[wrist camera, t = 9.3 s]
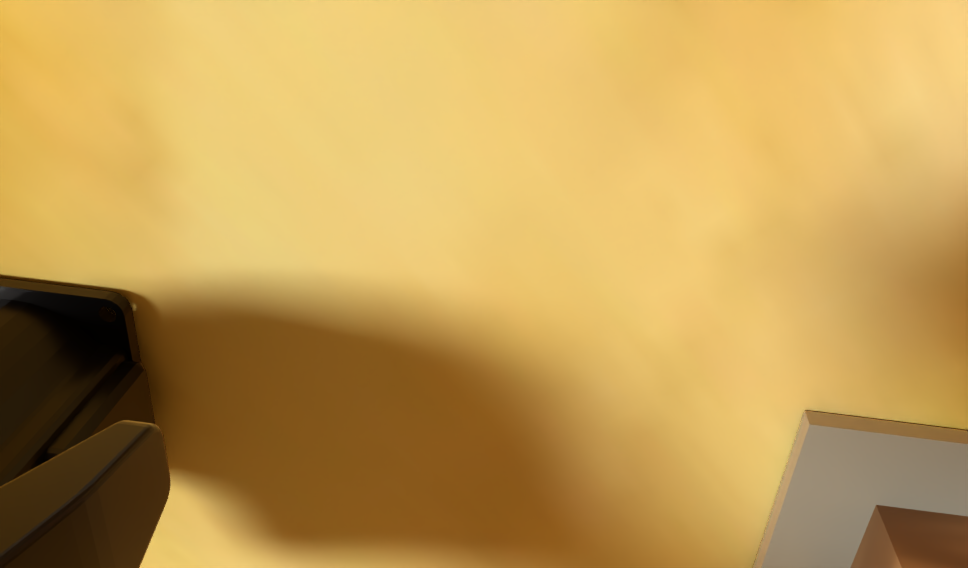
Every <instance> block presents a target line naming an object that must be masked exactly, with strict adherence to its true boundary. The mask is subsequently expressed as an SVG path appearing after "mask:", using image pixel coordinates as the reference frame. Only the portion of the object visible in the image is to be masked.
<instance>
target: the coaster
mask: <svg viewBox="0 0 968 568" xmlns="http://www.w3.org/2000/svg"><path fill="white" fill-rule="evenodd" d="M876 505H882V506H890V507H898V508H906V509H913V510H921V511H929V512H937V513H945V514H953V515H961V516H968V431H967V430H959V429H951V428H943V427H935V426H927V425H919V424H911V423H902V422H894V421H886V420H878V419H870V418H862V417H854V416H846V415H838V414H830V413H822V412H814V411H806V410H805V411H804V414H803V417H802V420H801V423H800V426H799V429H798V432H797V435H796V438H795V441H794V444H793V447H792V450H791V453H790V456H789V459H788V462H787V465H786V468H785V471H784V474H783V477H782V480H781V483H780V486H779V489H778V492H777V495H776V499H775V502H774V505H773V508H772V511H771V514H770V517H769V520H768V523H767V526H766V529H765V532H764V535H763V538H762V541H761V544H760V547H759V550H758V553H757V556H756V559H755V562H754V565H753V568H851V565H852V563H853V560H854V558H855V555H856V553H857V550H858V548H859V545H860V543H861V540H862V538H863V536H864V533H865V531H866V528H867V526H868V523H869V521H870V518H871V516H872V513H873V511H874V509H875V506H876Z"/></svg>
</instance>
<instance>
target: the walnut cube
mask: <svg viewBox="0 0 968 568" xmlns="http://www.w3.org/2000/svg"><path fill="white" fill-rule="evenodd" d="M851 568H968V516H961V515H953V514H945V513H937V512H929V511H921V510H913V509H906V508H898V507H890V506H882V505H876V506H875V509H874V511H873V513H872V516H871V518H870V521H869V523H868V526H867V528H866V531H865V533H864V536H863V538H862V540H861V543H860V545H859V548H858V550H857V553H856V555H855V558H854V560H853V563H852V565H851Z"/></svg>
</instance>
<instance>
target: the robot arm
mask: <svg viewBox="0 0 968 568" xmlns="http://www.w3.org/2000/svg"><path fill="white" fill-rule="evenodd" d="M107 307H109V308H111V309H112V310H113V311H115V314H116V315H115V314H112V313H111V312H110V311H108V309H107ZM169 491H170V473H169V467H168V461H167V455H166V449H165V443H164V437H163V433H162V431H161V429H160V428H159V427H158V426H157V425H155V421H154V415H153V409H152V404H151V398H150V392H149V386H148V380H147V374H146V370H145V368H144V367H143V365H142V364H141V359H140V354H139V348H138V342H137V336H136V330H135V325H134V319H133V313H132V308H131V306H130V303H129V302H128V301H127V300H126V298H125V297H123V296H122V295H120V294H118V293H115V292H111V291H103V290H94V289H86V288H78V287H70V286H61V285H53V284H45V283H37V282H28V281H20V280H12V279H4V278H0V568H139V567H140V565H141V563H142V560H143V558H144V555H145V553H146V550H147V548H148V546H149V543H150V541H151V538H152V536H153V534H154V531H155V529H156V526H157V524H158V521H159V519H160V517H161V514H162V512H163V509H164V507H165V505H166V502H167V499H168V496H169Z"/></svg>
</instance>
